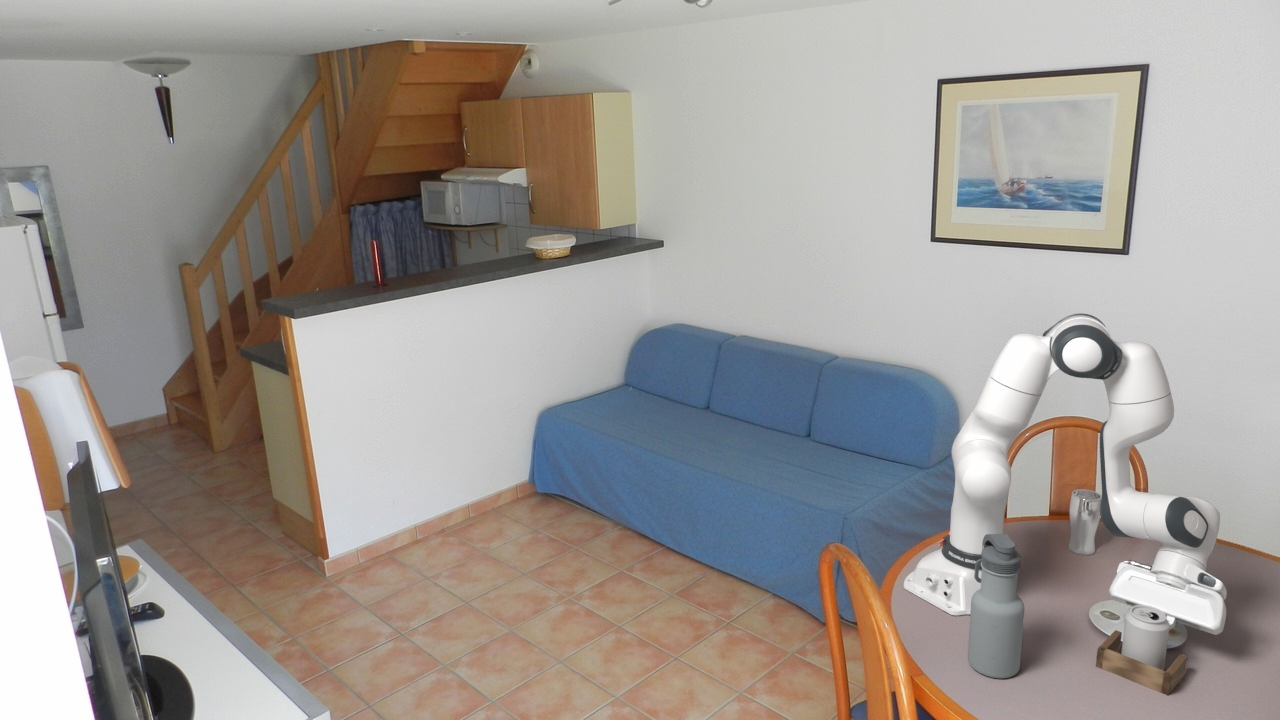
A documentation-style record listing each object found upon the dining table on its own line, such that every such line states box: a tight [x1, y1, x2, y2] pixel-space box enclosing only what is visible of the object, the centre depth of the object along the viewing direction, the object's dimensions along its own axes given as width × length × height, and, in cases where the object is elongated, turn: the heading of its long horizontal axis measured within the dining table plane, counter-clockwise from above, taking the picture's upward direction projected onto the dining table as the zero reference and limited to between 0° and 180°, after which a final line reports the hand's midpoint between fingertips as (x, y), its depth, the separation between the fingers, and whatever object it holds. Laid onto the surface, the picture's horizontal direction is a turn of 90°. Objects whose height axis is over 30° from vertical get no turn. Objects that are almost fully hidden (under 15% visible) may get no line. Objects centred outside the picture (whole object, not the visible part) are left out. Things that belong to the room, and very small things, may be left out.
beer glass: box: [1067, 488, 1102, 556], centre depth 213 cm, size 7×7×15 cm
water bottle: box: [967, 533, 1025, 679], centre depth 169 cm, size 10×10×28 cm
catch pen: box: [1095, 629, 1188, 696], centre depth 168 cm, size 13×9×4 cm
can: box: [1120, 605, 1170, 671], centre depth 168 cm, size 8×8×12 cm
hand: (1154, 635), depth 171 cm, fingers closed, pressing on can
